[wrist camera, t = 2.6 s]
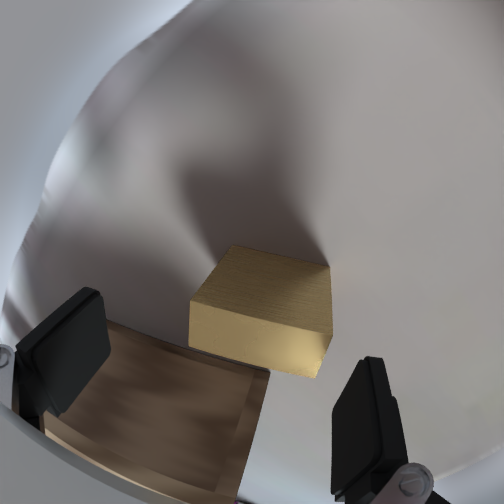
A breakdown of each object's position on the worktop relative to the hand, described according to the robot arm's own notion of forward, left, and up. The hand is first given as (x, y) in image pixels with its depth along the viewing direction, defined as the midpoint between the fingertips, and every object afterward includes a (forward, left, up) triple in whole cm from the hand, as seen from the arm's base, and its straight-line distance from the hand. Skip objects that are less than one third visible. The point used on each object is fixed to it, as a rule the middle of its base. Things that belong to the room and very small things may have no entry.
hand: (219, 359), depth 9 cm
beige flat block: (-1, 0, -6) cm, 7 cm away
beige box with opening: (+6, +15, -6) cm, 17 cm away
